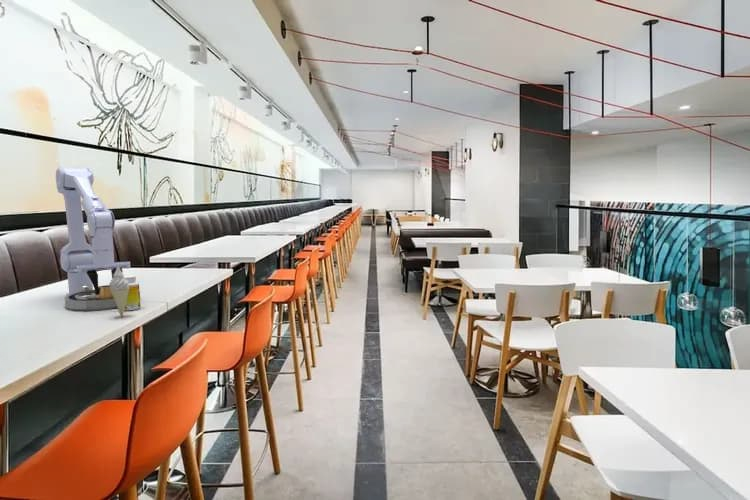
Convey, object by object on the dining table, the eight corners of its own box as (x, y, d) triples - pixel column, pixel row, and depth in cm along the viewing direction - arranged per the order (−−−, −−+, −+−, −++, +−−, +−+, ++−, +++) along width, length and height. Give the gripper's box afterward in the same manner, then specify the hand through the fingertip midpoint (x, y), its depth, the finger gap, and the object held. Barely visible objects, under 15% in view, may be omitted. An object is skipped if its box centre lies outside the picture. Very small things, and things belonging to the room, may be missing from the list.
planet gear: (94, 303, 156) (92, 286, 155) (115, 300, 160) (114, 283, 159) (97, 306, 151) (96, 288, 150) (119, 303, 155) (118, 286, 154)
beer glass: (142, 309, 152) (140, 276, 150) (122, 312, 148) (120, 278, 147) (137, 306, 156) (135, 274, 155) (118, 308, 152) (116, 276, 151)
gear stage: (62, 302, 162) (60, 283, 161) (131, 294, 174) (130, 276, 174) (70, 314, 145) (68, 293, 144) (146, 304, 158) (145, 284, 157)
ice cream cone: (116, 314, 146) (112, 263, 144) (134, 313, 146) (131, 263, 144) (108, 318, 141) (105, 266, 139) (127, 318, 141) (123, 265, 139)
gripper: (77, 253, 146) (81, 298, 147) (131, 249, 155) (134, 292, 156) (74, 251, 151) (78, 294, 153) (126, 247, 160) (129, 288, 162)
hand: (106, 293), depth 155 cm, fingers closed on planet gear, 4 cm apart
